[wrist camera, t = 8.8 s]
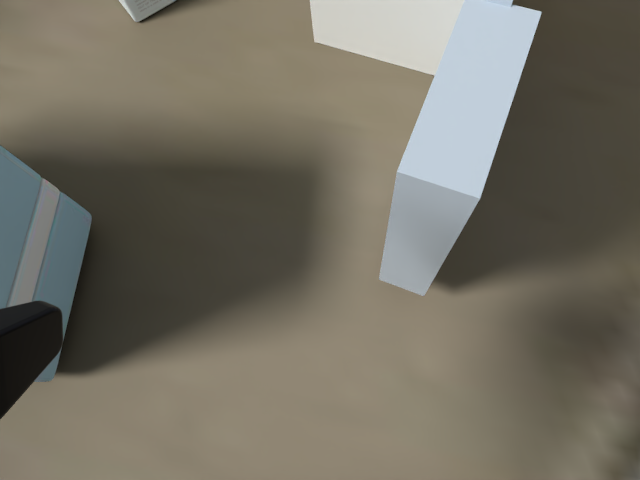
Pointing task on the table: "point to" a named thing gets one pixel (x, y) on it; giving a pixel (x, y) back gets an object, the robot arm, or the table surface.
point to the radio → (38, 242)
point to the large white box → (388, 29)
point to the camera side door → (455, 139)
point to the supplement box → (143, 7)
